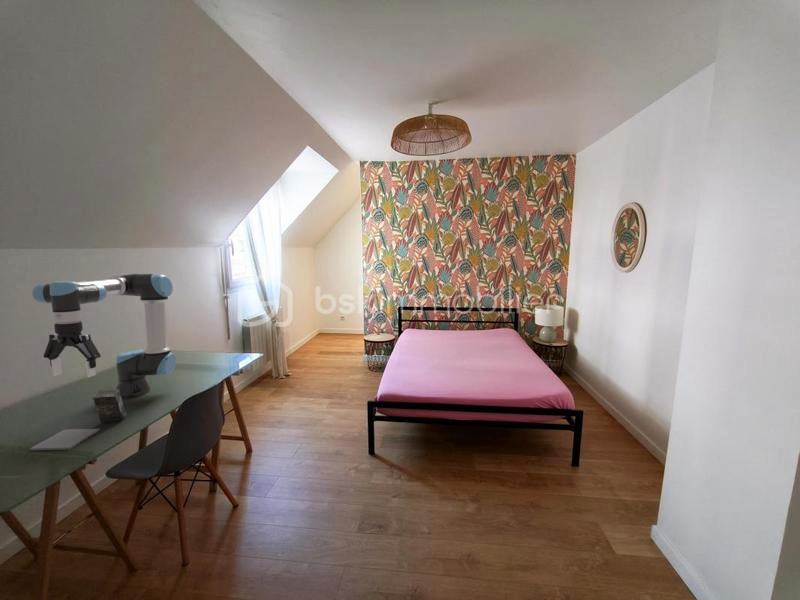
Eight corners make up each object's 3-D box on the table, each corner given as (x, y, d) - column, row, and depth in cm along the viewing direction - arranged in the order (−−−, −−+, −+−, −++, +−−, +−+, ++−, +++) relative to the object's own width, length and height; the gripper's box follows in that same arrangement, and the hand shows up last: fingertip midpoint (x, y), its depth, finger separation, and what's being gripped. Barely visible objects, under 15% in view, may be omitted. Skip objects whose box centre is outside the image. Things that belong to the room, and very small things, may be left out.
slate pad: (64, 431, 139) (64, 429, 139) (99, 430, 140) (99, 428, 140) (30, 450, 125) (29, 448, 125) (69, 449, 126) (69, 447, 126)
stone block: (124, 422, 148) (130, 413, 152) (116, 396, 142) (122, 388, 147) (100, 423, 145) (107, 415, 150) (91, 397, 140) (98, 390, 145)
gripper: (25, 323, 121) (32, 378, 124) (90, 324, 121) (96, 380, 123) (47, 319, 129) (54, 371, 132) (109, 320, 128) (114, 373, 131)
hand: (74, 375), depth 128 cm, fingers open, 13 cm apart
